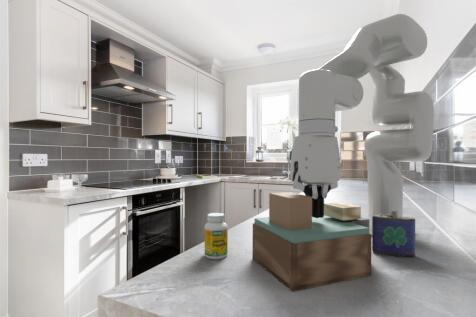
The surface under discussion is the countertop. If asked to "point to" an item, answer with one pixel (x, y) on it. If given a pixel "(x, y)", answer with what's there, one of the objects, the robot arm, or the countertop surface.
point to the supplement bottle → (216, 236)
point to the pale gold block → (342, 211)
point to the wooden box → (313, 258)
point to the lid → (303, 220)
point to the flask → (393, 235)
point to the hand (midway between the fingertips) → (315, 216)
